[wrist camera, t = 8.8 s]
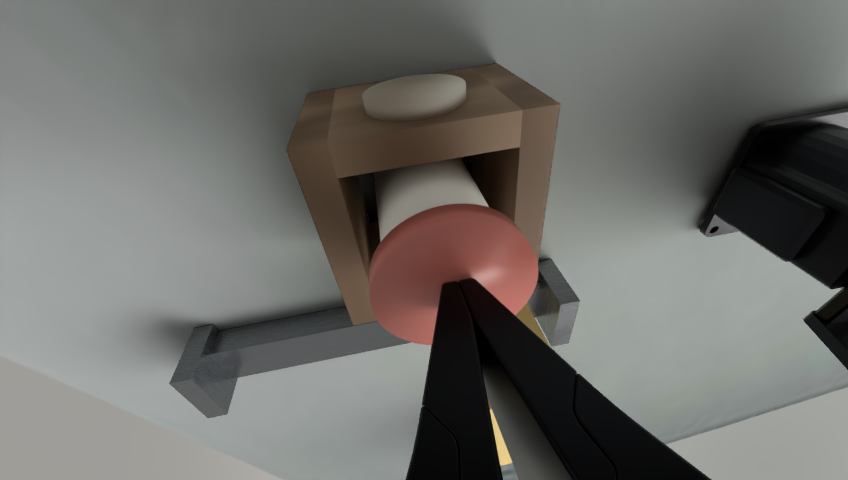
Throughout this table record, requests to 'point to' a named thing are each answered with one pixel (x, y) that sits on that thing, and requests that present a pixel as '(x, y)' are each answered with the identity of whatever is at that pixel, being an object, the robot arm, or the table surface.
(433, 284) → the plunger
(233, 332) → the rail
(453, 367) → the robot arm
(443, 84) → the brown wooden box
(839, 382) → the table surface
